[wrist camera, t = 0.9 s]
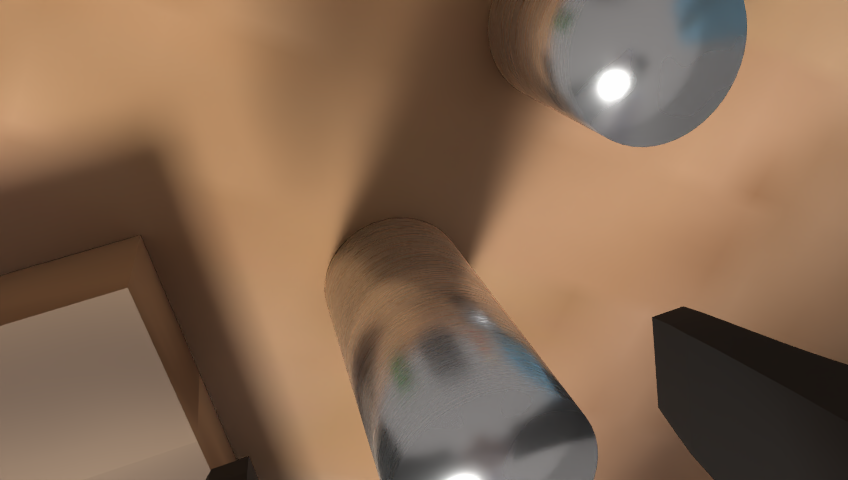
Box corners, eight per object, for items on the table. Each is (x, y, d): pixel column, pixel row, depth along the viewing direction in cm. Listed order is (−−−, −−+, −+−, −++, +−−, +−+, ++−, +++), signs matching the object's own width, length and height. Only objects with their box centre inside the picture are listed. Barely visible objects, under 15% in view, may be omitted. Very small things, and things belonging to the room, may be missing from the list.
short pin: (635, 78, 17) (746, 118, 13) (500, 116, 16) (580, 168, 13) (624, -77, 15) (747, -78, 12) (476, -40, 15) (557, -29, 11)
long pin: (472, 320, 18) (607, 521, 12) (345, 362, 18) (415, 595, 12) (448, 200, 17) (586, 359, 11) (307, 242, 16) (366, 436, 10)
